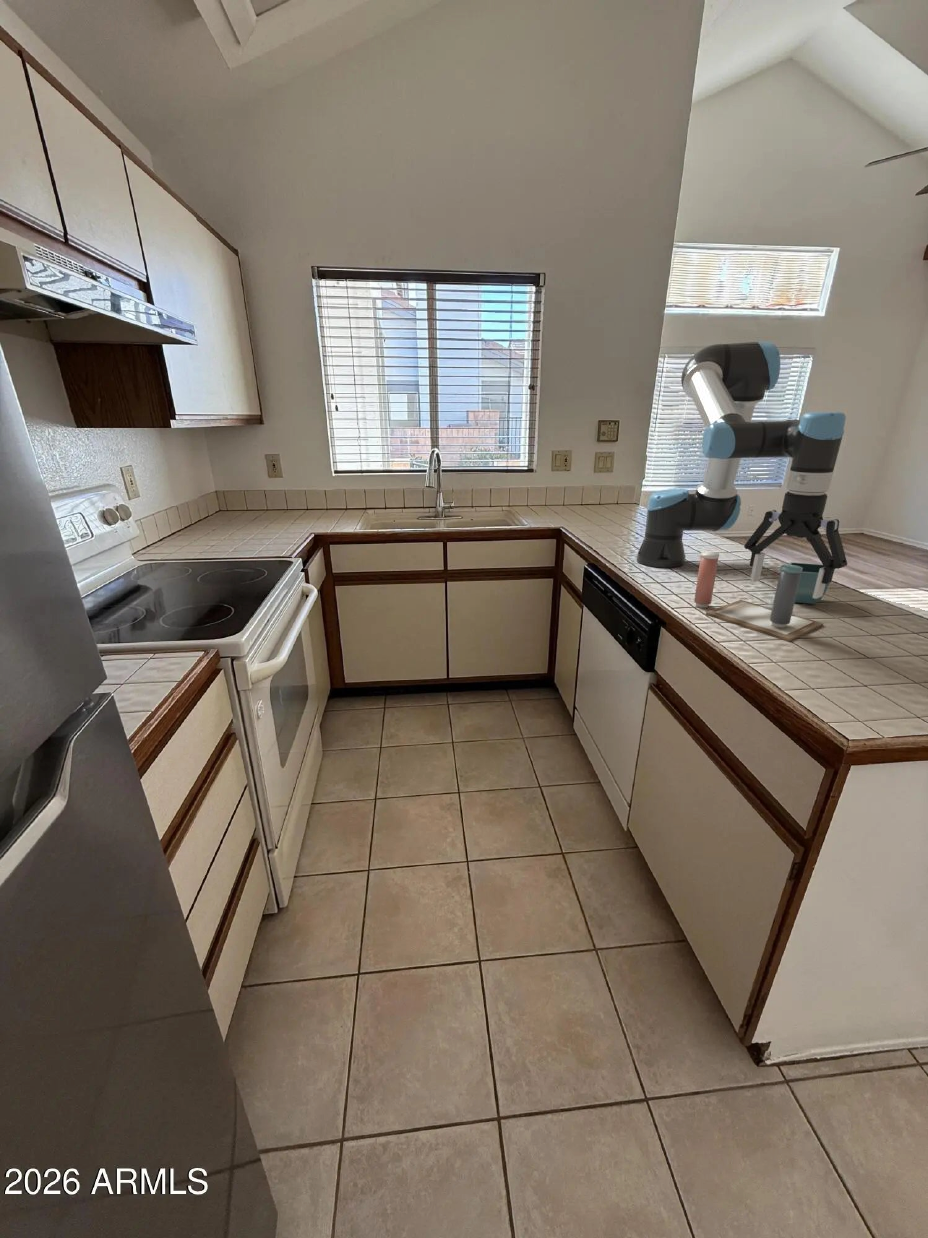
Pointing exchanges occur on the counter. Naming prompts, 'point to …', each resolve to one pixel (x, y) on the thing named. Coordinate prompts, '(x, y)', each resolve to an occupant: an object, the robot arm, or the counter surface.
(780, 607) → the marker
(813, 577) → the flower pot
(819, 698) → the counter surface
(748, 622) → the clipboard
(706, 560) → the pink bottle
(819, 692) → the counter surface
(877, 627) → the counter surface
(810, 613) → the counter surface
